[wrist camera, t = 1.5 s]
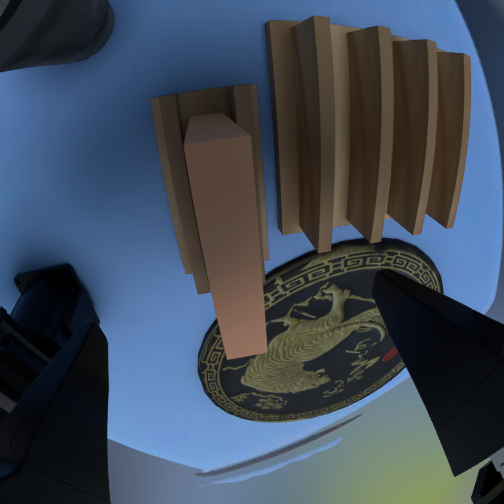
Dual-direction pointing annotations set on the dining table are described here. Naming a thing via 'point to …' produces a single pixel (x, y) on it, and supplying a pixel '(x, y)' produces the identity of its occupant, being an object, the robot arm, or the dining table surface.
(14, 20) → the beverage cup
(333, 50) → the rack
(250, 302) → the wooden block
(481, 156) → the dining table surface
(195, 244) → the holder
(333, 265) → the decorative plate
